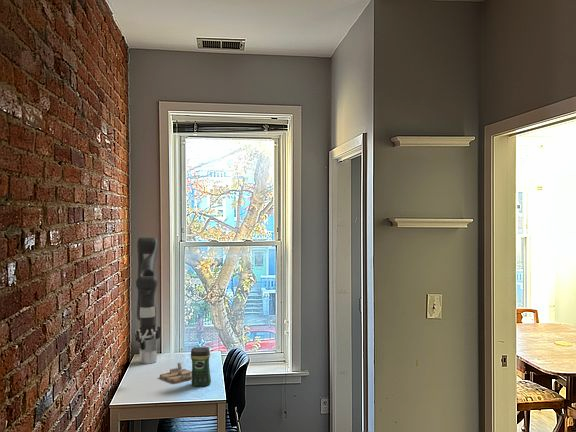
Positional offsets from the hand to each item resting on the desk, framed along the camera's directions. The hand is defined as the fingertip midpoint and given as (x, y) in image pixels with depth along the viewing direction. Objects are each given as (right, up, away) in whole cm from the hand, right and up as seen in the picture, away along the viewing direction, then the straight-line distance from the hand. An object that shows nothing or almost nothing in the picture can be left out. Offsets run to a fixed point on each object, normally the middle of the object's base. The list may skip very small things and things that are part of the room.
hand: (148, 348), depth 287 cm
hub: (0, -1, 0) cm, 1 cm away
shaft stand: (+15, -17, +8) cm, 24 cm away
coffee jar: (+28, -17, -5) cm, 33 cm away
